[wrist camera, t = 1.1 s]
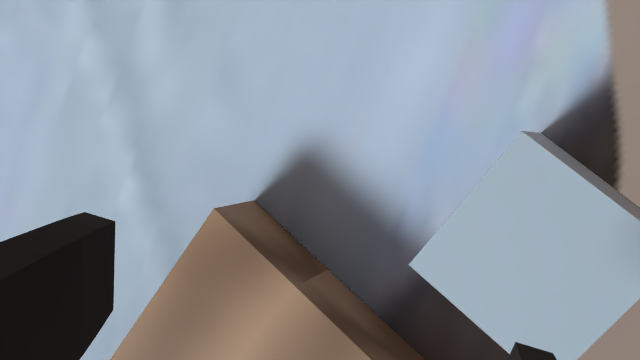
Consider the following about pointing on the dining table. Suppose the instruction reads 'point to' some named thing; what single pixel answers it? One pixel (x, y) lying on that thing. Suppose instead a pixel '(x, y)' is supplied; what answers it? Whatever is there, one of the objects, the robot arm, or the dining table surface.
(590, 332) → the peg
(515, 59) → the dining table surface
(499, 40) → the dining table surface
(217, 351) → the socket block
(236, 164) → the dining table surface
